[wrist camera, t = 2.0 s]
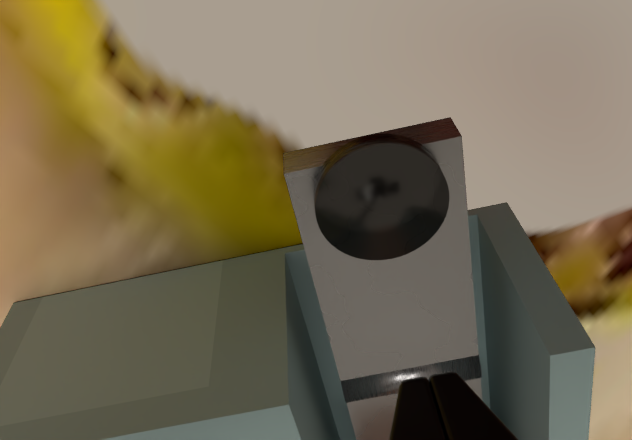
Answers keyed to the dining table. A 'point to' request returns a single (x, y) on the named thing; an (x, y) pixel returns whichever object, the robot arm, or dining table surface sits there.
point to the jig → (272, 351)
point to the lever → (389, 261)
